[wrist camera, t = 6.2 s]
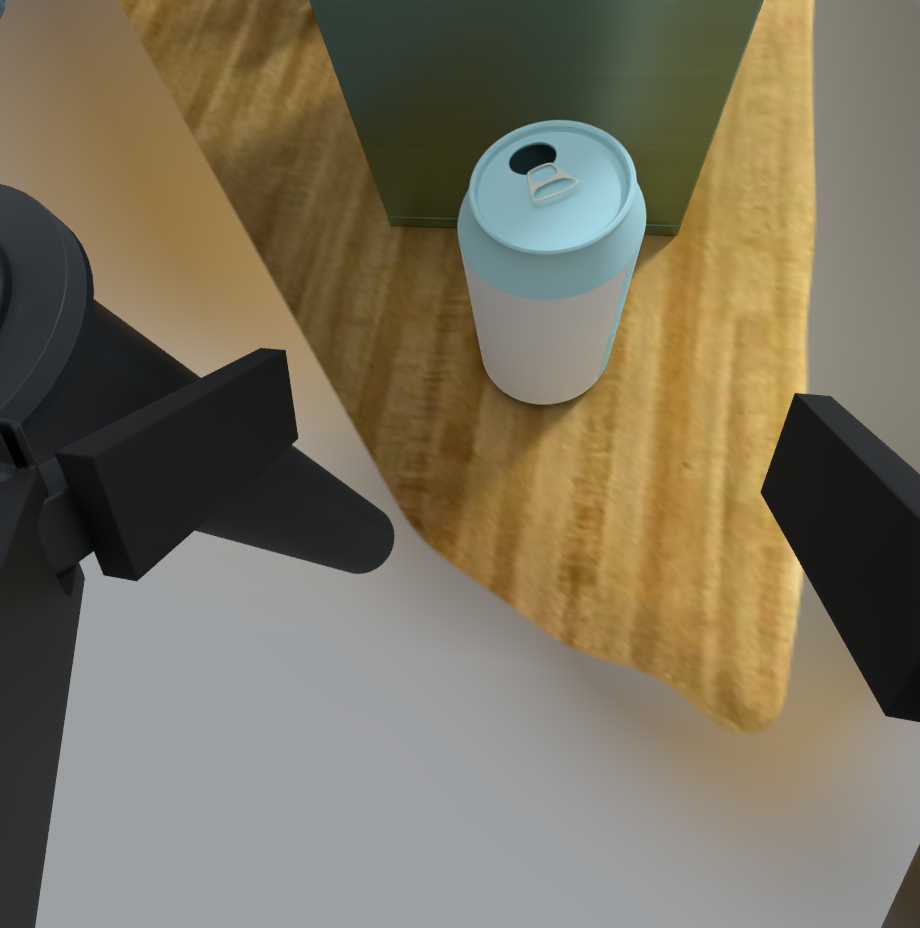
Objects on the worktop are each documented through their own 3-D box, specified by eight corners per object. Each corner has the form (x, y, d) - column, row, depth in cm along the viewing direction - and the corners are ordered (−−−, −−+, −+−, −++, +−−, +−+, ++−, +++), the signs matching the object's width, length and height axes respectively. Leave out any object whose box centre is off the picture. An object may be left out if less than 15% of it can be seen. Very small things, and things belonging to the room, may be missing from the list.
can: (459, 375, 30) (413, 222, 18) (520, 280, 31) (513, 82, 20) (570, 431, 28) (595, 299, 16) (630, 327, 29) (693, 138, 18)
